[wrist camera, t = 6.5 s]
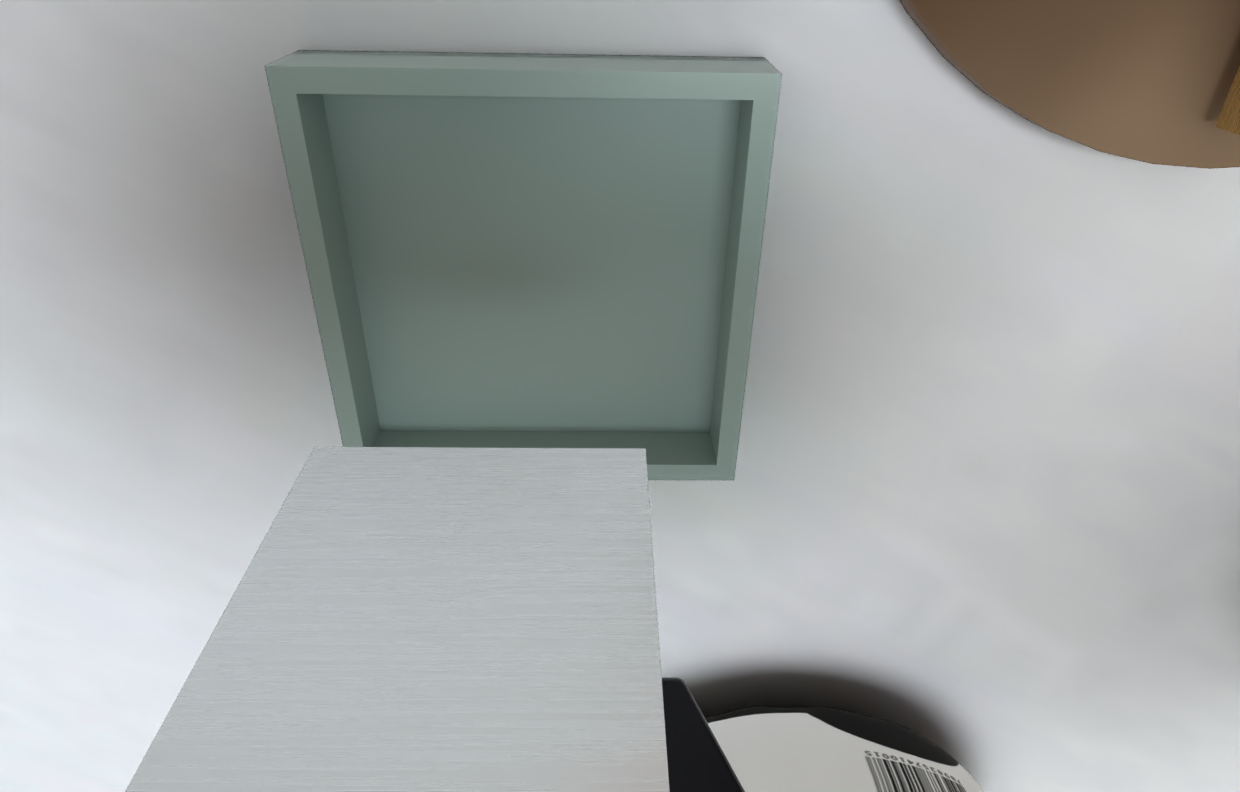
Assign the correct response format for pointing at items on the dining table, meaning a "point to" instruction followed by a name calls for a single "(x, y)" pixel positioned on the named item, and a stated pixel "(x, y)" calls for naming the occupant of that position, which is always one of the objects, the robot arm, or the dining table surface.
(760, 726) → the milk container
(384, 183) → the tray
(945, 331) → the dining table surface
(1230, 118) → the crank
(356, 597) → the block
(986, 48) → the base
